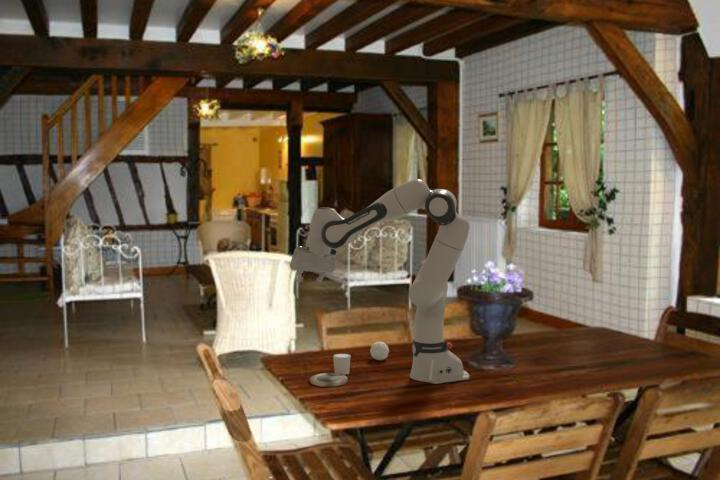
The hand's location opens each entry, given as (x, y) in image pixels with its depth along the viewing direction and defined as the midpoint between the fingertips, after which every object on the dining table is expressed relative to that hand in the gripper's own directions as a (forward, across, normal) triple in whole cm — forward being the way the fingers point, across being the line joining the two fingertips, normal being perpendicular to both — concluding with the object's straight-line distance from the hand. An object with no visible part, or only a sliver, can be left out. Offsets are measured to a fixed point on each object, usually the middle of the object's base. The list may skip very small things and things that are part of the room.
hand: (309, 282), depth 279 cm
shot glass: (+32, +12, -16) cm, 38 cm away
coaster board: (+32, +1, -22) cm, 39 cm away
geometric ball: (+29, +36, -12) cm, 48 cm away
